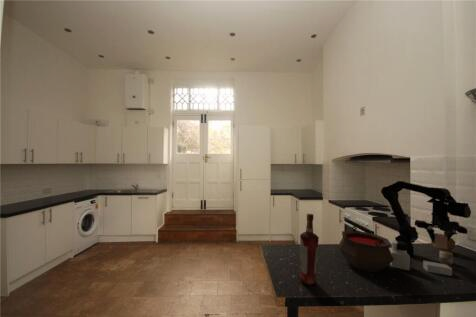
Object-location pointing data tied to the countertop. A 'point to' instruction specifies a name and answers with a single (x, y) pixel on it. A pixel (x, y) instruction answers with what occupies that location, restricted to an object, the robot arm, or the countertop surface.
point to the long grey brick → (437, 268)
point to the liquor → (308, 253)
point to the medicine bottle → (400, 255)
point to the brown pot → (365, 250)
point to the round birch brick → (446, 257)
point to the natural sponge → (449, 245)
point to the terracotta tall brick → (440, 241)
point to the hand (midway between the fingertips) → (439, 243)
